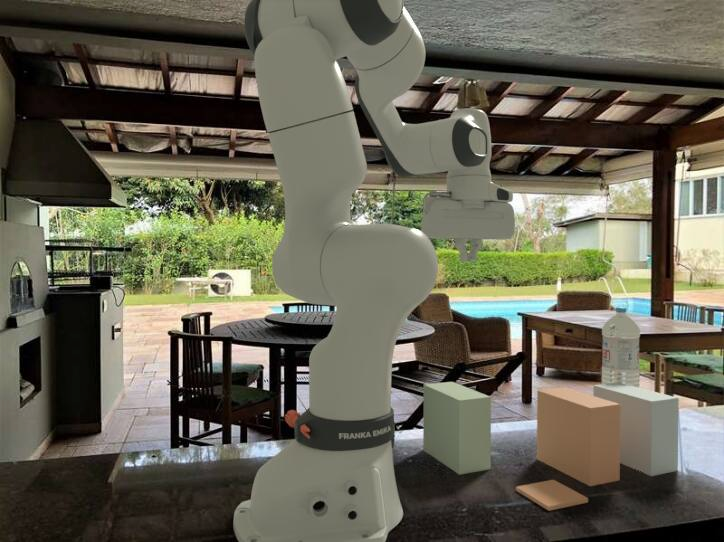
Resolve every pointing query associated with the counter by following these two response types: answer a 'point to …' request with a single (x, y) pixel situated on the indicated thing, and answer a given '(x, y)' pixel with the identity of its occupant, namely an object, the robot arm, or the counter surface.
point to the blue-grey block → (645, 427)
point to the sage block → (457, 427)
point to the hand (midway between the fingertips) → (468, 261)
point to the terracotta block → (579, 435)
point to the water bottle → (620, 350)
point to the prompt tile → (551, 495)
